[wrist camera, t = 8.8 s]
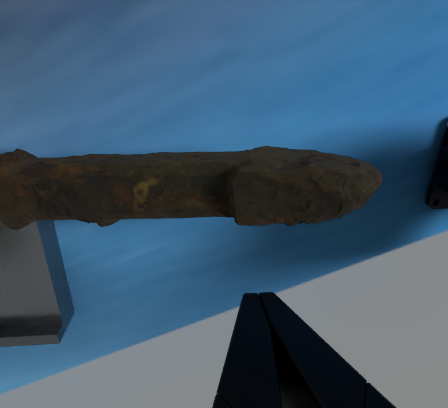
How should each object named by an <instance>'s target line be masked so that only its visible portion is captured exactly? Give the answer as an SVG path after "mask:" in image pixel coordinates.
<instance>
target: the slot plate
mask: <svg viewBox="0 0 448 408" xmlns="http://www.w3.org/2000/svg"><path fill="white" fill-rule="evenodd" d="M73 314H74V308H73V304H72V300H71V295H70V291H69V287H68V283H67V278H66V274H65V270H64V265H63V261H62V257H61V252H60V248H59V244H58V240H57V235H56V231H55V227H54V222H53V220H39V221H35V222H32V223H30V224H29V225H28V226H26V227H24V228H21V229H18V230H11V229H10V228H8V227H7V226H6V225H4V224H3V223H2V222H1V221H0V347H5V346H22V345H40V344H57V343H60V341H61V339H62V337H63V335H64V333H65V331H66V328H67V326H68V324H69V322H70V320H71V318H72V316H73Z"/></svg>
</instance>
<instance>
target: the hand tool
mask: <svg viewBox="0 0 448 408" xmlns="http://www.w3.org/2000/svg"><path fill="white" fill-rule="evenodd" d="M381 175H382V174H381V173H380V172H379V171H378V170H377V169H376V168H375V167H374V166H373V165H372V164H369V163H367V162H365V161H362V160H358V159H354V158H351V157H348V156H341V155H336V154H332V153H321V152H318V151H316V150H297V149H288V148H280V147H271V146H263V147H258V148H254V149H252V150H245V151H236V152H182V153H172V152H159V153H150V154H131V155H121V154H112V155H111V154H88V155H84V156H70V157H62V158H37V157H36V156H34V155H32V154H30V153H28V152H26V151H24V150H21V149H16V150H15V151H14V152H7V153H4V154H1V155H0V221H1V222H2V223H3V224H4V225H6V226H7V227H8V228H10V229H11V230H18V229H21V228H24V227H26V226H28V225H29V224H30V223H32V222H35V221H39V220H68V219H75V220H80V221H84V222H87V223H91V222H92V223H97V224H98V225H99V226H100V227H103V226H108V225H112V224H113V223H115V222H117V221H119V220H120V219H140V218H141V219H160V218H195V217H234V219H235V222H236V223H237V224H238V225H247V226H252V225H257V226H265V225H270V224H276V223H283V224H286V225H288V226H292V225H296V224H300V223H302V222H304V223H306V224H311V223H320V222H323V221H327V220H331V219H335V218H340V217H342V216H343V215H345V214H346V213H351V212H352V211H353V210H356V209H359V208H361V207H362V206H364V205H365V204H366V203H367V202H368V201H369V199H370V198H371V197H372V195H373V194H374V192H375V191H376V190H377V189H378V187H379V186H380V185H381V184H382V177H381Z"/></svg>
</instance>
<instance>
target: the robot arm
mask: <svg viewBox="0 0 448 408" xmlns="http://www.w3.org/2000/svg"><path fill="white" fill-rule="evenodd" d="M434 200H435V202H433V201H434ZM432 202H433V203H432ZM425 203H426V205H427V206H429V207H430V208H432V209H445V208H448V127H447V130H446V134H445V137H444V140H443V144H442V147H441V150H440V154H439V157H438V160H437V164H436V167H435V170H434V174H433V177H432V180H431V184H430V187H429V190H428V194H427V197H426V200H425ZM212 408H396V407H395V406H394V405H393V404H392V403H391V402H389V401H388V400H387V399H386V398H385V397H384V396H383V395H382V394H381V393H380V392H379V391H377V390H376V389H375V388H374V387H373V386H372V385H371V384H370V383H367V381H366V379H364V378H363V376H361V375H360V374H359V373H358V372H357V371H356V370H355V369H354V368H353V367H352V366H351V365H350V364H349V363H348V362H347V361H345V360H344V359H343V358H342V357H341V356H340V355H339V354H338V353H337V352H336V351H335V350H334V349H333V348H332V347H331V346H330V345H329V344H328V343H326V342H325V341H324V340H323V339H322V338H321V337H320V336H319V335H318V334H317V333H316V332H315V331H313V329H312V328H311V327H309V326H308V325H307V324H306V323H305V322H304V321H303V320H302V319H301V318H300V317H299V316H298V315H297V314H296V313H295V312H294V311H293V310H291V309H290V308H289V307H288V306H287V305H286V304H285V303H284V302H283V301H282V300H281V299H280V298H279V297H278V296H276V294H274V293H273V292H263V293H259V294H257V293H245V294H243V297H242V300H241V304H240V308H239V311H238V315H237V319H236V323H235V327H234V330H233V334H232V337H231V341H230V345H229V348H228V352H227V356H226V360H225V363H224V367H223V371H222V375H221V378H220V382H219V386H218V389H217V394H216V396H215V400H214V403H213V407H212Z"/></svg>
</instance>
